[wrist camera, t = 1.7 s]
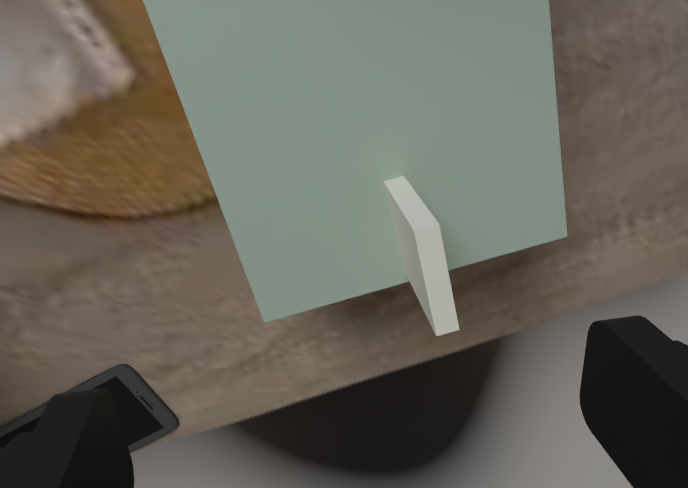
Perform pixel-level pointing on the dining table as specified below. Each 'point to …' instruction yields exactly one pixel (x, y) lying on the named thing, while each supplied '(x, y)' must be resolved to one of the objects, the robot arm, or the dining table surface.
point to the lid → (370, 138)
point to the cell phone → (131, 404)
